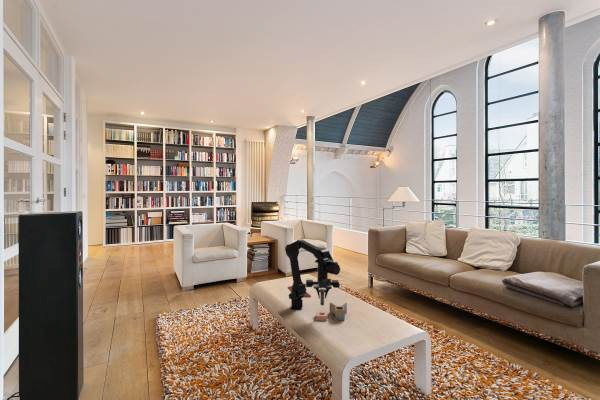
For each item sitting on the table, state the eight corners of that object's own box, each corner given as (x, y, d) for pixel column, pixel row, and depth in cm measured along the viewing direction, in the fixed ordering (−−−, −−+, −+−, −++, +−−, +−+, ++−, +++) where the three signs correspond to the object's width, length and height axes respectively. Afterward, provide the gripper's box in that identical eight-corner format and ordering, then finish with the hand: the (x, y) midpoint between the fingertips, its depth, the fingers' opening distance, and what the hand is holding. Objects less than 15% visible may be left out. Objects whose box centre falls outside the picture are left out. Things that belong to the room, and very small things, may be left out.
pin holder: (316, 320, 170) (316, 315, 170) (316, 315, 176) (316, 311, 176) (327, 320, 170) (327, 316, 170) (326, 316, 176) (326, 311, 176)
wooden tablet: (312, 298, 207) (312, 295, 207) (298, 299, 204) (298, 297, 203) (298, 286, 232) (298, 283, 232) (285, 287, 228) (285, 285, 228)
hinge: (330, 320, 171) (330, 309, 170) (329, 312, 182) (329, 302, 181) (349, 320, 170) (349, 310, 170) (346, 312, 181) (346, 302, 181)
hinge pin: (319, 305, 171) (319, 290, 171) (318, 303, 175) (319, 288, 175) (325, 306, 171) (325, 291, 171) (325, 303, 175) (325, 288, 174)
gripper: (306, 274, 165) (305, 303, 165) (340, 275, 164) (340, 304, 165) (306, 269, 176) (305, 296, 176) (338, 270, 175) (338, 297, 176)
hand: (322, 298), depth 173 cm, fingers closed on hinge pin, 3 cm apart
